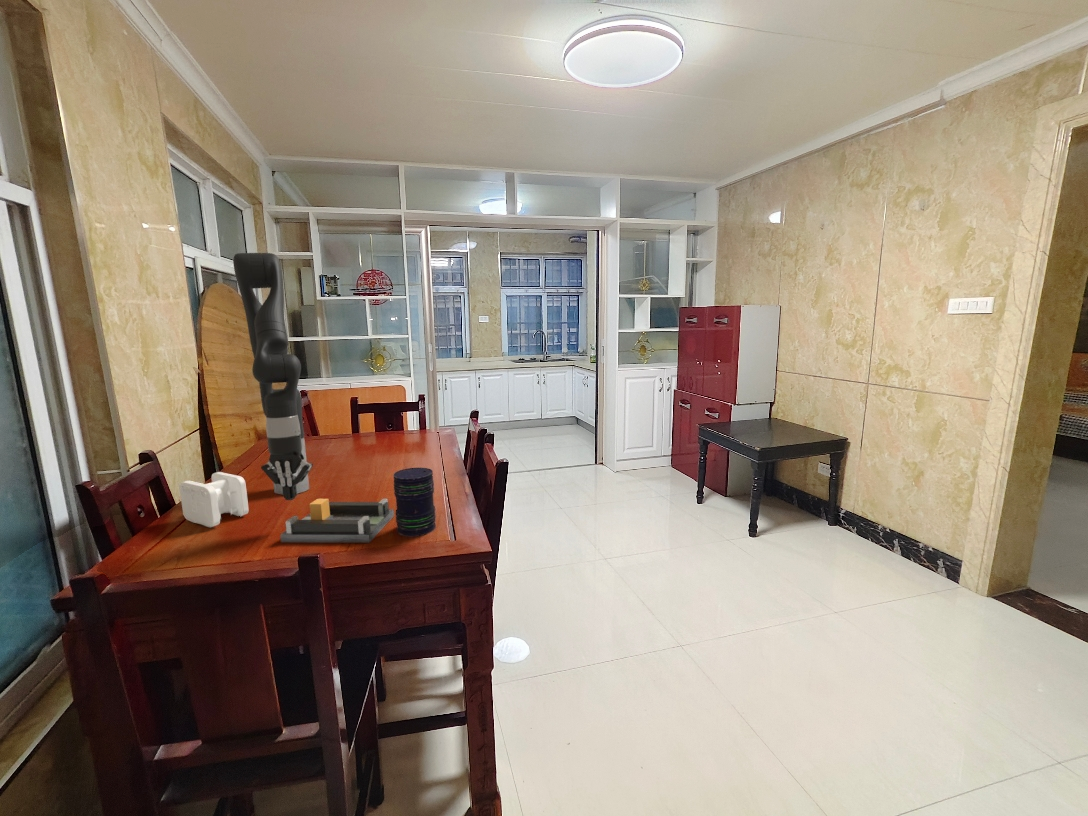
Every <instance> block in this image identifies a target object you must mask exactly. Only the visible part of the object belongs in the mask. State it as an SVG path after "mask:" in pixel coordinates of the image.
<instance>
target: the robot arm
mask: <svg viewBox="0 0 1088 816" xmlns="http://www.w3.org/2000/svg"><path fill="white" fill-rule="evenodd" d="M232 259H233V263H232V264H233V270H234V274H235V279H236V282H237V286H238V289H239V293H240V297H241V300H242V305H243V308H244V313H245V318H246V322H247V330H248V335H249V342H250V346H251V351H252V354H253V355H252V356H253V363H252V369H251V371H252V372H251V373H252V375H253V378H254V379H255V381H257V382H258V384H259V392H260V399H261V406H262V412H263V414H264V416H265V421H266V423H265V429H266V430H265V431H266V439H267V447H268V453H269V457H268V462H267V463H265V464H263V465H261V467H260V469H261V470H262V471H263V472H264V473H265V475H266V476H267V477H268V478H269V479H270V480H271V481H272V482H273V489H274V494H277V495H282V497H283V498H284V500H285V501H293V500H295V498H296V497H297V495H298V494H300V493H301V494H302V493H304V492H306V491H308V490H310V482H309V473H310V471H311V469H312V468H313V467H314V464H313V463H312V462H308V461H307V460H308V459H307V454H306V452H307V451H306V441H305V433H304V422H303V401H302V394H301V392H300V390H299V389H298V385H299V380H300V376H301V372H302V364H301V361H300V359H299V358H298V357H297V356H296V355H295V354H291V353H290V354H289V348H288V347H289V338H288V333H287V332H288V331H287V328H286V320H285V297H284V296H285V295H284V294H285V293H284V292H285V291H284V277H283V270H282V266H281V265H282V264H281V261H280V259H279V257H278V256H277V254H275V253H271V252H238V253H235V254H234V256H233V258H232ZM267 288H268V289H270V291H269V292H268V295H267V297H266V298H265V301H264V302H263V303H261V302H260V300H259V299H258V298H257V296H256V293H255V292H254V290H253V289H267ZM278 383H279V384H280V383H282V384H283V383H286V384H285V386H284V387H283V388H279V389H277V388H276V389H275V388H273V384H278Z"/></svg>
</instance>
